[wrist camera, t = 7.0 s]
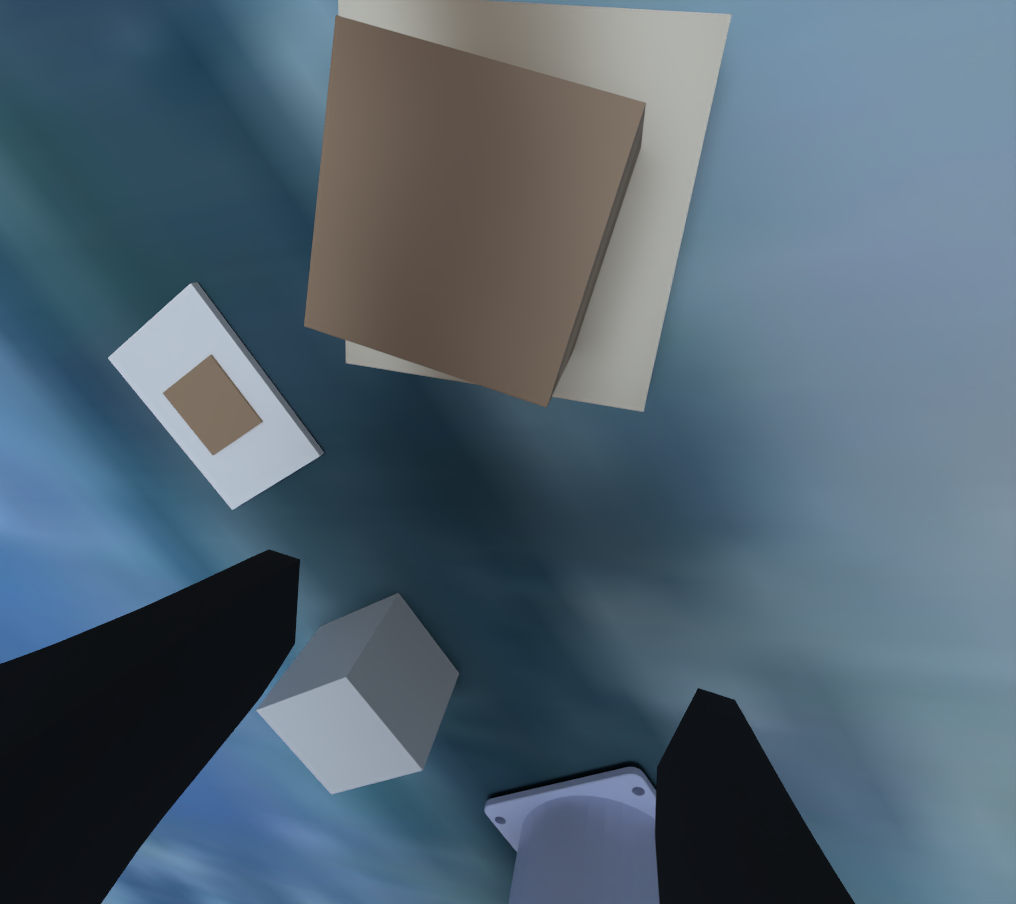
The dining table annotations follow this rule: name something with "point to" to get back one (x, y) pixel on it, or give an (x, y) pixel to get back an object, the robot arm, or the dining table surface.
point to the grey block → (363, 697)
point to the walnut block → (463, 208)
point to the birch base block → (657, 173)
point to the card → (214, 398)
